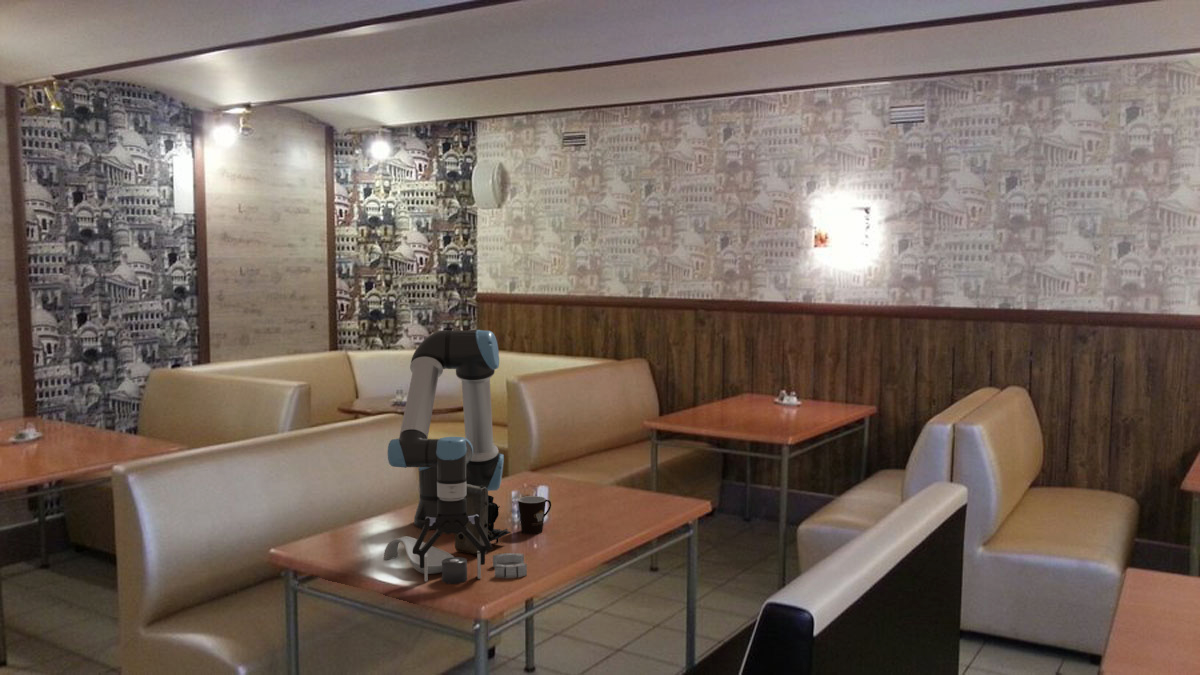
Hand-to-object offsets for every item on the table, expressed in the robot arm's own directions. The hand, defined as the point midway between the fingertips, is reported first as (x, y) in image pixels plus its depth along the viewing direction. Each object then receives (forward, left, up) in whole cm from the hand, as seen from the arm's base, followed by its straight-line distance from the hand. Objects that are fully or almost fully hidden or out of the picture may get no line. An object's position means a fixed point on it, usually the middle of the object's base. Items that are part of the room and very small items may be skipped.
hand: (452, 578), depth 236 cm
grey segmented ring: (-4, +15, 0) cm, 16 cm away
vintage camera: (-26, +9, 0) cm, 28 cm away
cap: (0, +1, 0) cm, 1 cm away
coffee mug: (-41, +26, 0) cm, 49 cm away
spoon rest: (-12, -9, -1) cm, 16 cm away
